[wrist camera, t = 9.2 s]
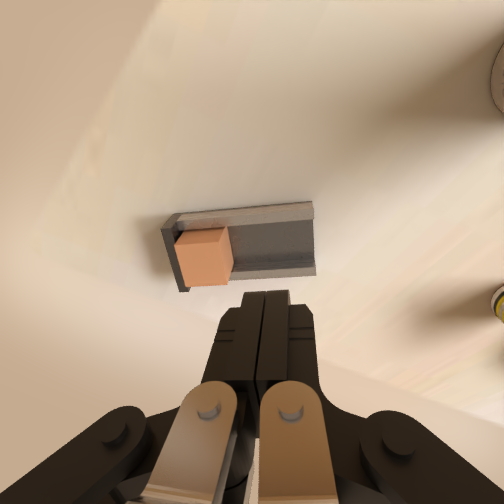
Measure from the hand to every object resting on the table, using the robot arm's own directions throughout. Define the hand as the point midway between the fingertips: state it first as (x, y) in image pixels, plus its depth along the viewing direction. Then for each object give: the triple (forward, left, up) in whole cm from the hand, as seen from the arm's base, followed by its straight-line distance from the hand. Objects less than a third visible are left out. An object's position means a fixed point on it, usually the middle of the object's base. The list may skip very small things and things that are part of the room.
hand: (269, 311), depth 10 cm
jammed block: (+9, +9, -26) cm, 29 cm away
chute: (+5, +9, -26) cm, 28 cm away
